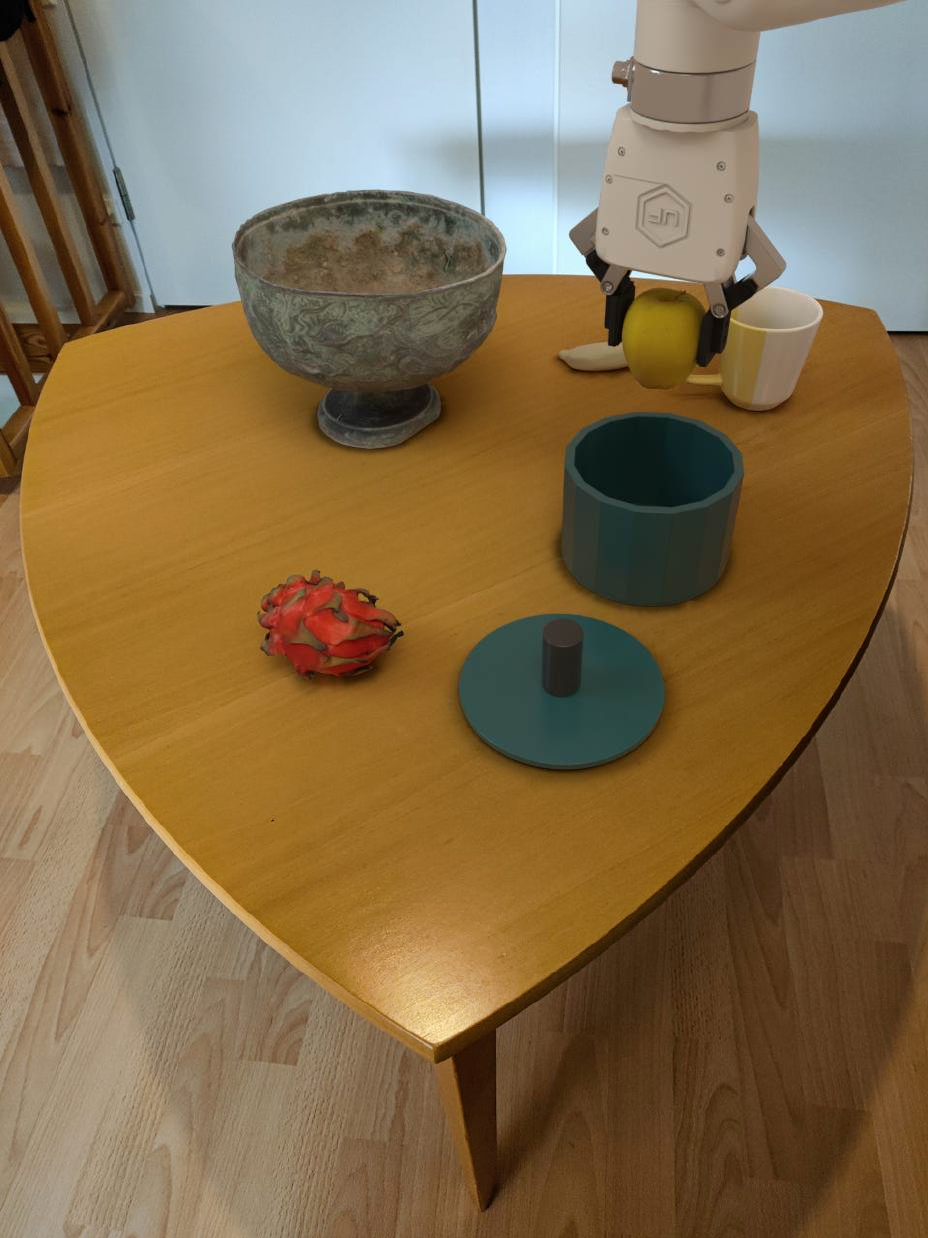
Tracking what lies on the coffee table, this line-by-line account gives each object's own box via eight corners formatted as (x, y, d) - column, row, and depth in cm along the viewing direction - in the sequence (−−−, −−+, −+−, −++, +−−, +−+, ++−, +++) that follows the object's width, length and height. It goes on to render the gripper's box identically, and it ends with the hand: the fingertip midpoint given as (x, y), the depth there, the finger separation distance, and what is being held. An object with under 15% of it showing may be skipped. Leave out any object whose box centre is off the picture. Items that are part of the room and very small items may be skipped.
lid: (693, 662, 79) (704, 601, 75) (613, 807, 70) (619, 746, 65) (517, 601, 86) (517, 540, 81) (421, 725, 76) (415, 664, 71)
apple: (700, 407, 74) (715, 306, 69) (614, 401, 75) (622, 301, 70) (702, 365, 79) (716, 267, 73) (621, 359, 80) (629, 263, 74)
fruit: (700, 350, 115) (704, 324, 113) (591, 386, 111) (592, 359, 108) (663, 326, 120) (665, 300, 118) (556, 359, 115) (557, 332, 113)
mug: (798, 374, 111) (817, 284, 103) (808, 425, 103) (829, 331, 96) (673, 370, 112) (683, 281, 105) (674, 419, 105) (685, 327, 98)
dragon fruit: (261, 655, 84) (399, 686, 83) (228, 674, 76) (381, 709, 75) (279, 557, 83) (419, 587, 82) (247, 565, 74) (403, 599, 74)
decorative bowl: (214, 399, 111) (178, 220, 97) (403, 330, 122) (396, 161, 108) (342, 519, 96) (322, 328, 82) (544, 428, 107) (557, 246, 93)
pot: (748, 529, 91) (766, 436, 84) (691, 627, 82) (707, 532, 75) (602, 487, 97) (608, 396, 90) (534, 574, 88) (535, 481, 81)
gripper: (541, 90, 64) (537, 346, 76) (811, 124, 57) (759, 398, 70) (590, 59, 68) (579, 305, 81) (845, 87, 62) (791, 351, 74)
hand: (663, 346), depth 75 cm, fingers closed on apple, 6 cm apart
